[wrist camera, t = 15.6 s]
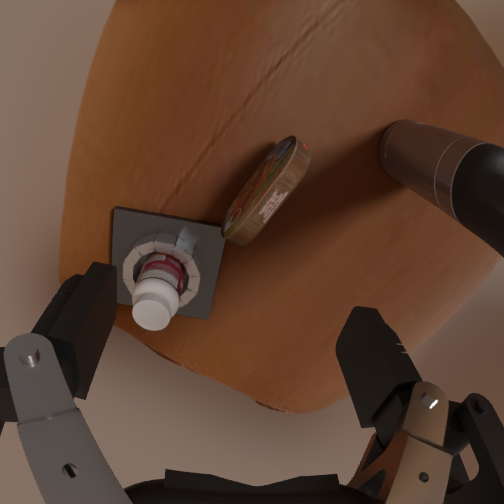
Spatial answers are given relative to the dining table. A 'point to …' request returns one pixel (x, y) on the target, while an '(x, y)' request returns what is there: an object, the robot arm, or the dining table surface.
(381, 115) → the dining table surface
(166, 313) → the pill bottle
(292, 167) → the tin
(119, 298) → the collar
